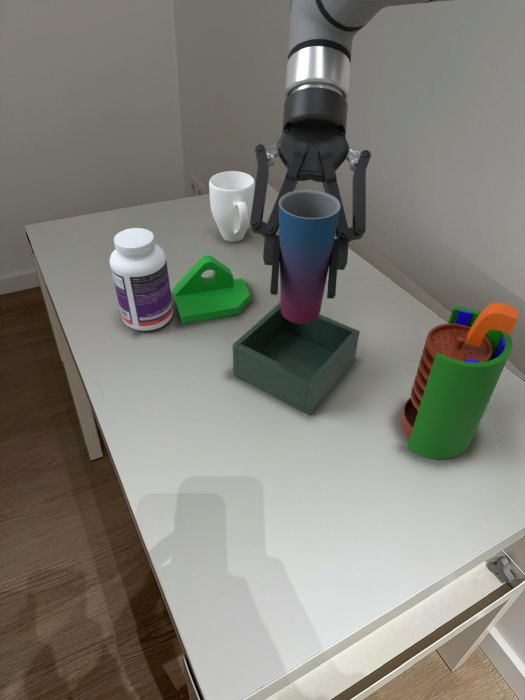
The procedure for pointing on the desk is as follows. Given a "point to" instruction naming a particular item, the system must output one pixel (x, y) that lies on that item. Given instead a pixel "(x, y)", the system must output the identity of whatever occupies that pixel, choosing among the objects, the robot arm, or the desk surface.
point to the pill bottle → (141, 280)
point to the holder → (295, 357)
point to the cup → (305, 251)
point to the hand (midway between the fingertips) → (302, 294)
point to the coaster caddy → (457, 379)
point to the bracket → (209, 292)
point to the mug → (232, 203)
